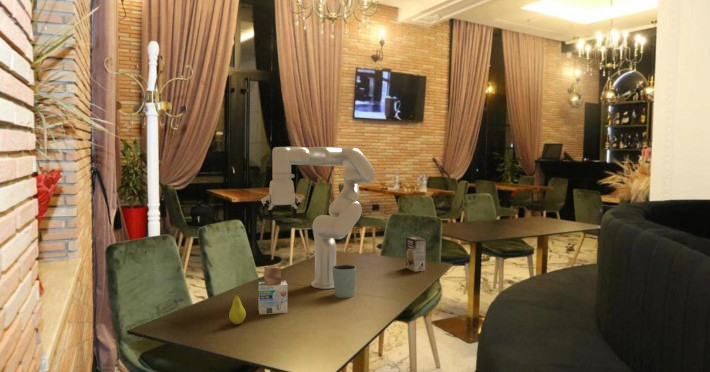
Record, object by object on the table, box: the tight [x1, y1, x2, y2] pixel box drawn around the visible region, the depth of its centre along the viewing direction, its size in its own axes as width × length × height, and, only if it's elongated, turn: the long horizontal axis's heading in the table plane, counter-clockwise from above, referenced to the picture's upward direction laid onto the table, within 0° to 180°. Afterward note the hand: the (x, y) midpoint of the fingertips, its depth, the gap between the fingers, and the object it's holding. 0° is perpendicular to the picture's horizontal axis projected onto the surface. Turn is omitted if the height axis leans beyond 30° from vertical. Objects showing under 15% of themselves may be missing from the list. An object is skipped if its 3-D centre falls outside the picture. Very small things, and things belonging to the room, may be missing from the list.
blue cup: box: [332, 263, 357, 299], centre depth 215 cm, size 10×10×12 cm
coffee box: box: [405, 236, 427, 272], centre depth 261 cm, size 9×6×16 cm
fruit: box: [228, 291, 247, 325], centre depth 179 cm, size 6×6×12 cm
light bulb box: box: [257, 280, 289, 315], centre depth 194 cm, size 11×7×11 cm, turn 105°
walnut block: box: [263, 264, 282, 285], centre depth 193 cm, size 5×5×6 cm
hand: (282, 218), depth 212 cm, fingers open, 9 cm apart
